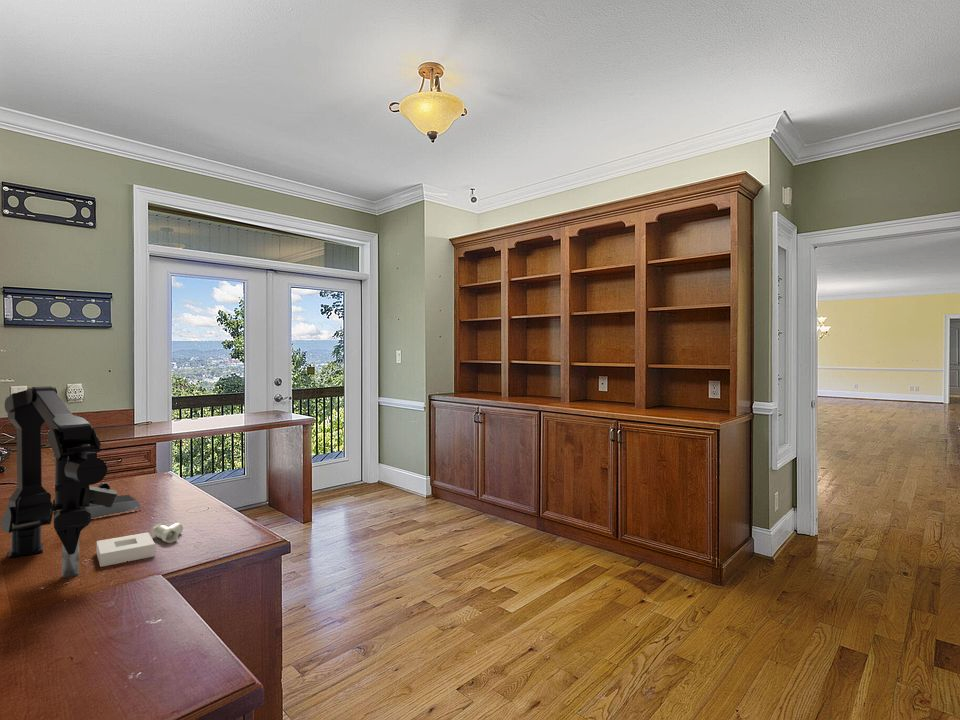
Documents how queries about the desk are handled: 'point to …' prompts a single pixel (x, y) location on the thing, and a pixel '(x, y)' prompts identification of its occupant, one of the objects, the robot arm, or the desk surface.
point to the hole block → (125, 549)
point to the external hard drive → (114, 506)
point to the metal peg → (70, 562)
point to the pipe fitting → (167, 532)
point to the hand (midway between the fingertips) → (70, 548)
